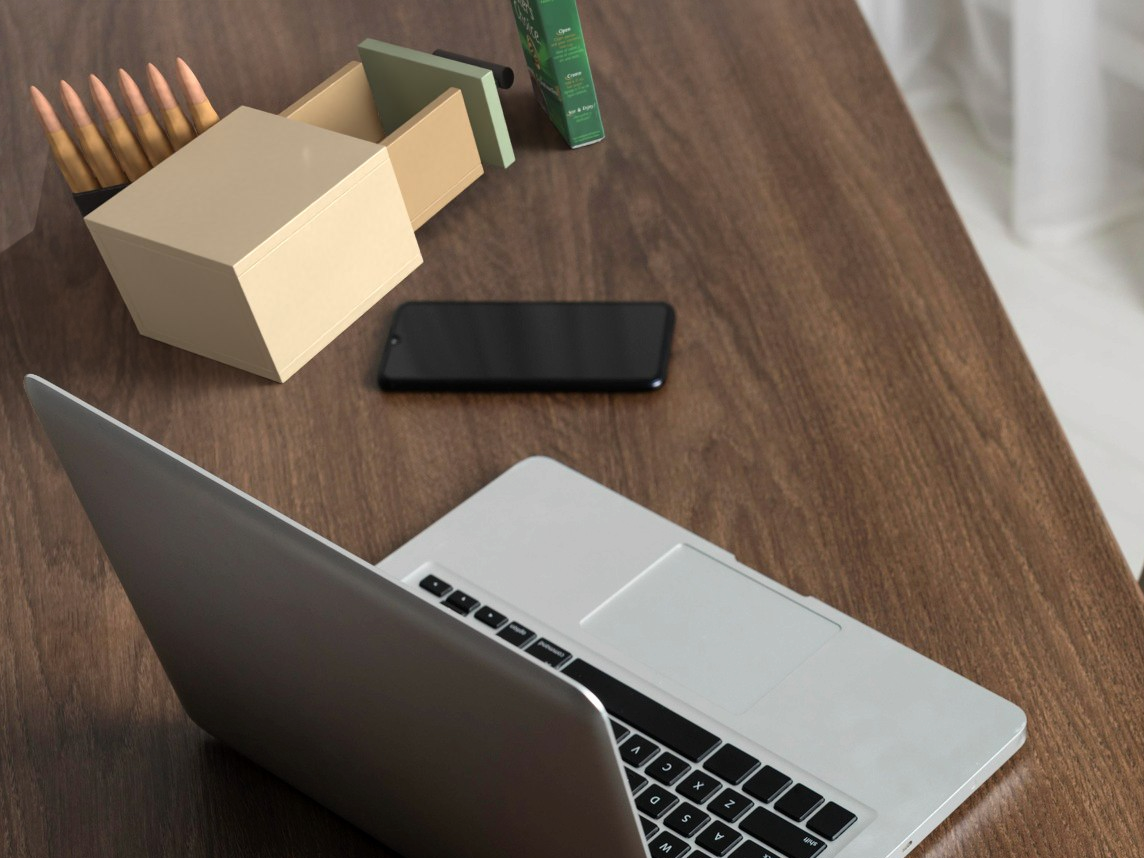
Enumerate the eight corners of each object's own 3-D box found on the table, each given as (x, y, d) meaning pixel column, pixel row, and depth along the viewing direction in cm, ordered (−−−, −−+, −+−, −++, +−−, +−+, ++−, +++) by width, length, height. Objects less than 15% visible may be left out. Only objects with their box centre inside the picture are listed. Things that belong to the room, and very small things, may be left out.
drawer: (433, 97, 124) (407, 8, 119) (552, 129, 121) (530, 39, 116) (275, 220, 114) (239, 129, 109) (400, 259, 111) (369, 167, 106)
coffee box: (531, 99, 125) (487, -78, 116) (568, 88, 126) (528, -88, 116) (569, 151, 121) (527, -28, 111) (607, 140, 122) (569, -39, 112)
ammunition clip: (270, 215, 115) (193, 47, 107) (268, 230, 114) (191, 61, 105) (107, 249, 114) (17, 81, 106) (104, 264, 113) (12, 95, 104)
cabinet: (286, 219, 116) (241, 104, 110) (423, 262, 113) (386, 145, 106) (139, 334, 108) (82, 217, 102) (282, 384, 105) (232, 266, 98)
